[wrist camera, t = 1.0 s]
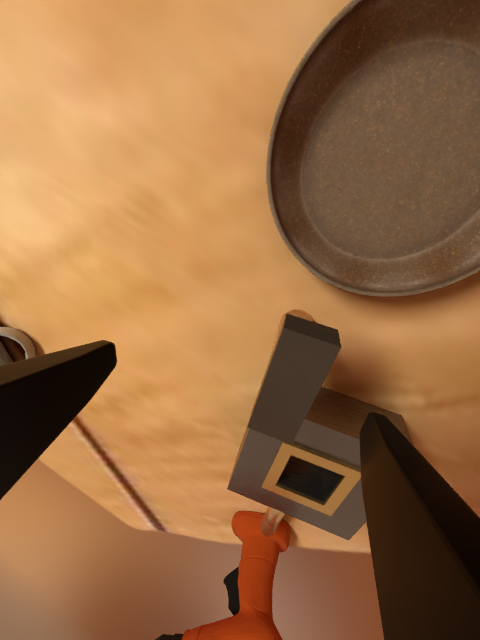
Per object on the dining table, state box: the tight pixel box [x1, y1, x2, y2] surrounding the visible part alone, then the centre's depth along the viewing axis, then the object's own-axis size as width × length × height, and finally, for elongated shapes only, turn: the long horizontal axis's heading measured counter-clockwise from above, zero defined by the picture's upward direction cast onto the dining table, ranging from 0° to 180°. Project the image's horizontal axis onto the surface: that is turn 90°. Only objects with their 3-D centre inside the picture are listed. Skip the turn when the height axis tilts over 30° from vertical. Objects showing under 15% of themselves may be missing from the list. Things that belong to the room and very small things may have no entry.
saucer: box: [266, 0, 480, 297], centre depth 14 cm, size 15×15×3 cm
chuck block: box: [227, 387, 414, 540], centre depth 25 cm, size 12×20×5 cm, turn 167°
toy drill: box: [156, 511, 290, 640], centre depth 29 cm, size 5×19×15 cm, turn 103°
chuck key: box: [247, 310, 341, 445], centre depth 18 cm, size 3×7×8 cm, turn 166°
